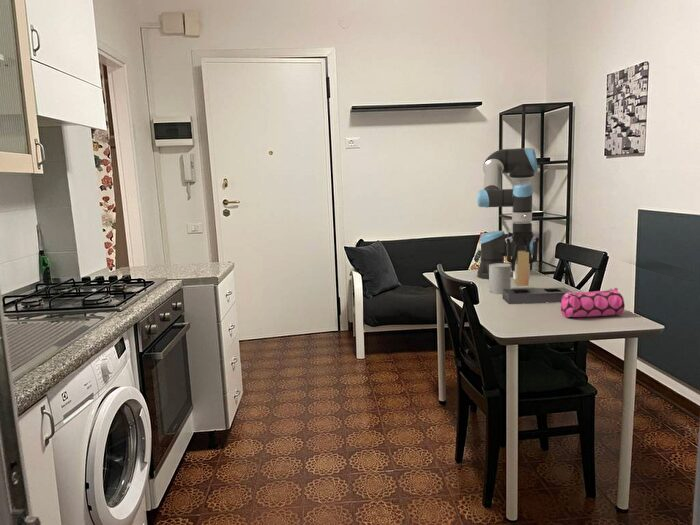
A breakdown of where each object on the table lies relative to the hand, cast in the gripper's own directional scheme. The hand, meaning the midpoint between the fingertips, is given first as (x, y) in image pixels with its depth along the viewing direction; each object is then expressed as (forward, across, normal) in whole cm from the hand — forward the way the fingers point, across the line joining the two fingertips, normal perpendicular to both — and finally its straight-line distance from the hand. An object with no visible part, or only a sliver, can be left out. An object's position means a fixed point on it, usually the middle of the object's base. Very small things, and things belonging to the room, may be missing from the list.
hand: (521, 278), depth 222 cm
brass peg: (+3, 0, 0) cm, 3 cm away
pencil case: (+10, +18, -26) cm, 33 cm away
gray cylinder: (+10, -4, +18) cm, 21 cm away
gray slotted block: (+9, +6, 0) cm, 12 cm away
